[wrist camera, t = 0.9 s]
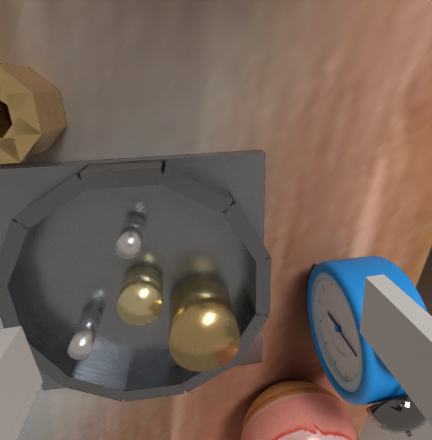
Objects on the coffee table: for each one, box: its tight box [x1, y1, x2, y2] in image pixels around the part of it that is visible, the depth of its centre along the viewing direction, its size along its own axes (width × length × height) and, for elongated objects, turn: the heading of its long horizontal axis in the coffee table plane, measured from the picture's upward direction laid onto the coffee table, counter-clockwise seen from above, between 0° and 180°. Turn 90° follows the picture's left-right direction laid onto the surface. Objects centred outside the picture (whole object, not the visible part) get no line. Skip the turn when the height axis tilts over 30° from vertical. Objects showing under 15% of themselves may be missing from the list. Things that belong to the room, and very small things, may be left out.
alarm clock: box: [307, 256, 428, 436], centre depth 32 cm, size 13×6×15 cm, turn 4°
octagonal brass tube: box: [0, 63, 67, 164], centre depth 25 cm, size 6×6×6 cm
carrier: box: [0, 150, 271, 402], centre depth 31 cm, size 25×25×8 cm
